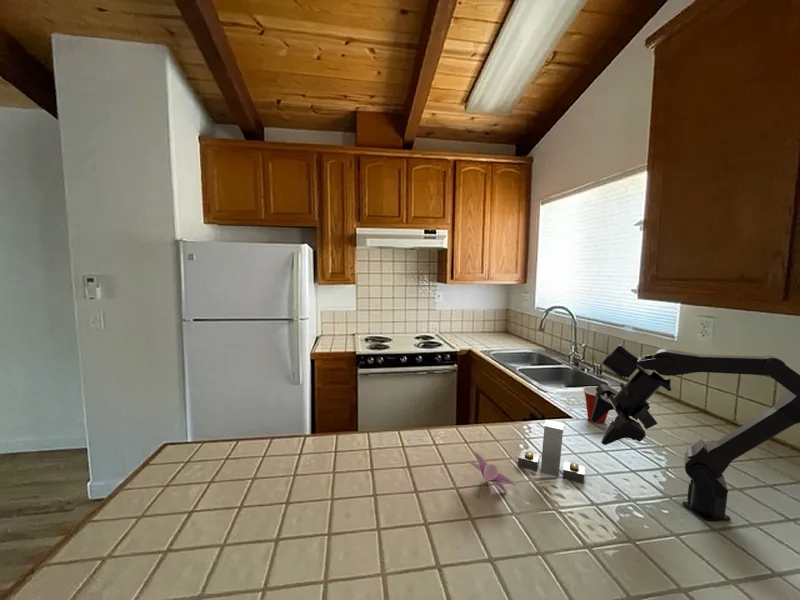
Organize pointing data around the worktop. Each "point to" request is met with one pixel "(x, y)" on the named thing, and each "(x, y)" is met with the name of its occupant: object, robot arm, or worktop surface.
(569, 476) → the chain ends
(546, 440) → the tall metal block
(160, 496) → the worktop surface
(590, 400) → the plastic cup
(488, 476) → the lily
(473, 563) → the worktop surface
